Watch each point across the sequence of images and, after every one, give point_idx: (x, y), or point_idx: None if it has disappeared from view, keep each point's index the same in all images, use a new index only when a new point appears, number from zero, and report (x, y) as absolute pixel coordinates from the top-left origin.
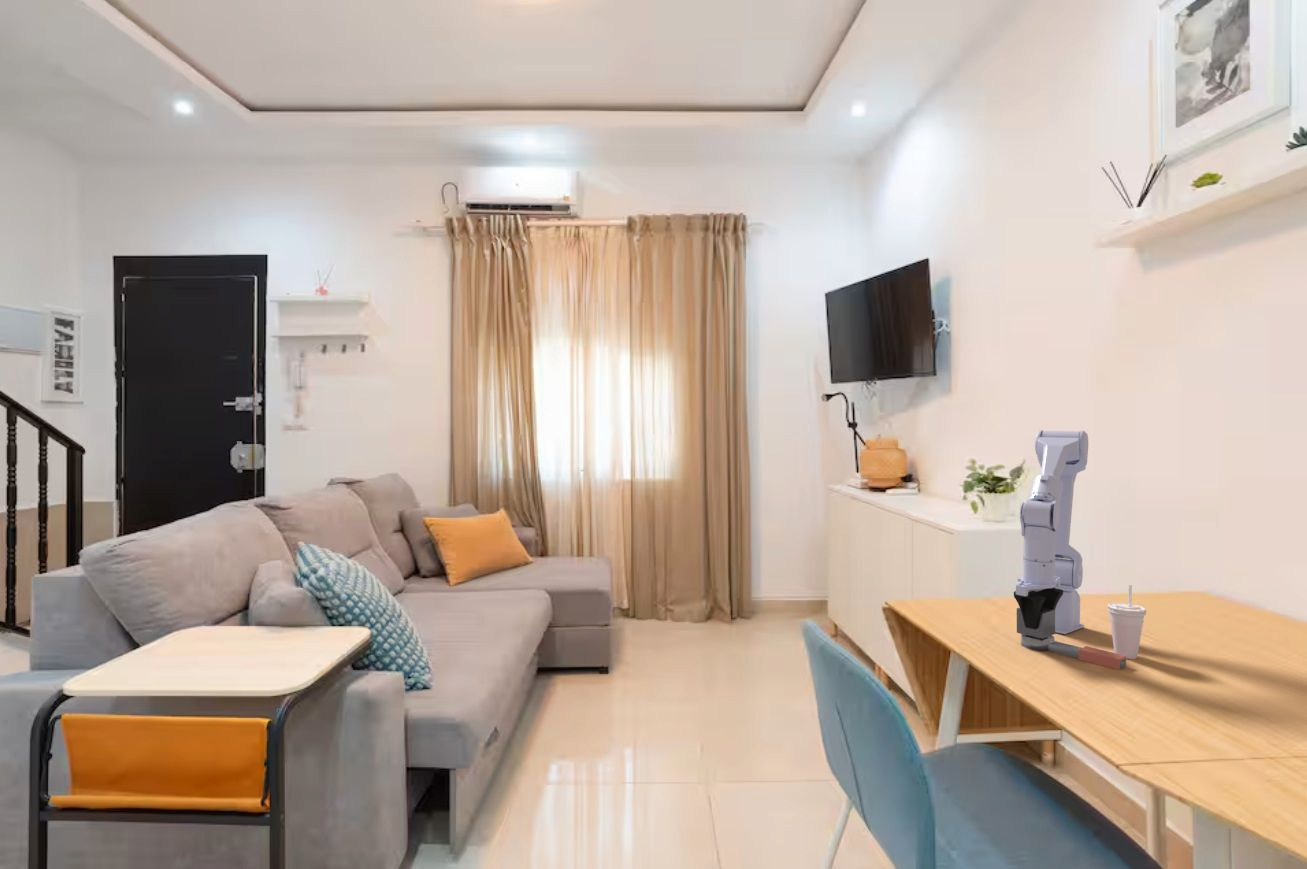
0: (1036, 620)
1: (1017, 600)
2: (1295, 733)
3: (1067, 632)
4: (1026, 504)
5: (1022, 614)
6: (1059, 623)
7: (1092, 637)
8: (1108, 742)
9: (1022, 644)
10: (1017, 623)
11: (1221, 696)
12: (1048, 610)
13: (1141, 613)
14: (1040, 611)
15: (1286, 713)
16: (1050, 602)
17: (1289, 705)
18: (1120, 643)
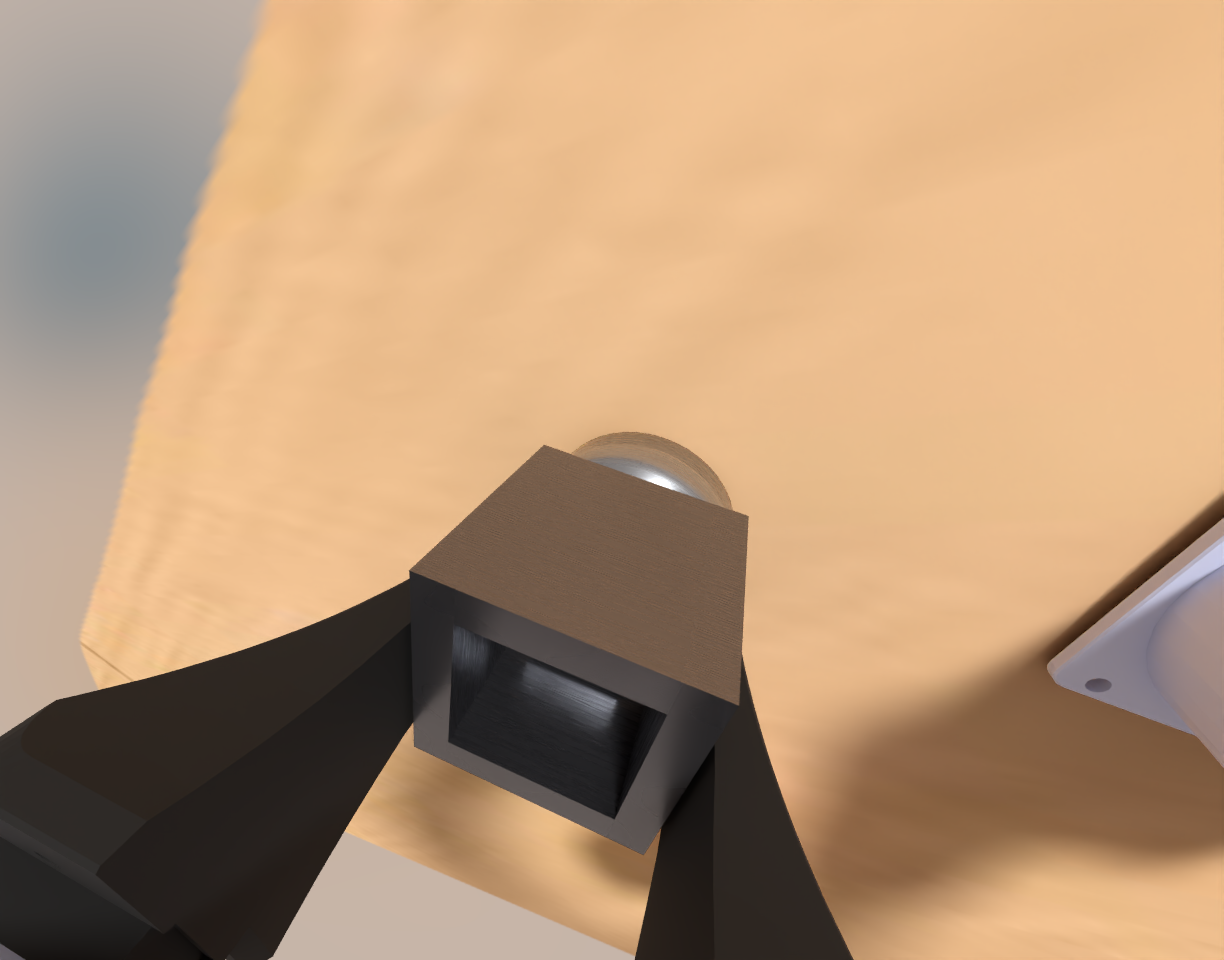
0: None
1: (163, 685)
2: (411, 859)
3: (1080, 691)
4: None
5: (385, 592)
6: (1190, 708)
7: (1053, 776)
8: (109, 634)
9: (579, 448)
10: (507, 485)
11: (509, 853)
12: (562, 805)
13: None
14: (648, 732)
15: (499, 892)
16: (653, 923)
17: (551, 916)
18: None
